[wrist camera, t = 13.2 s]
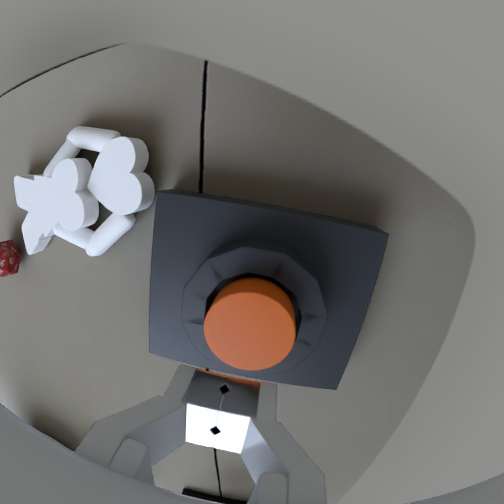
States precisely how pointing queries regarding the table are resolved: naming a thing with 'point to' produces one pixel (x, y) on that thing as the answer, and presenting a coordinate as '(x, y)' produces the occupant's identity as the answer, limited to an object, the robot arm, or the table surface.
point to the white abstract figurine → (86, 191)
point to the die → (9, 258)
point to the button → (251, 324)
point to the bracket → (211, 497)
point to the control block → (263, 267)
